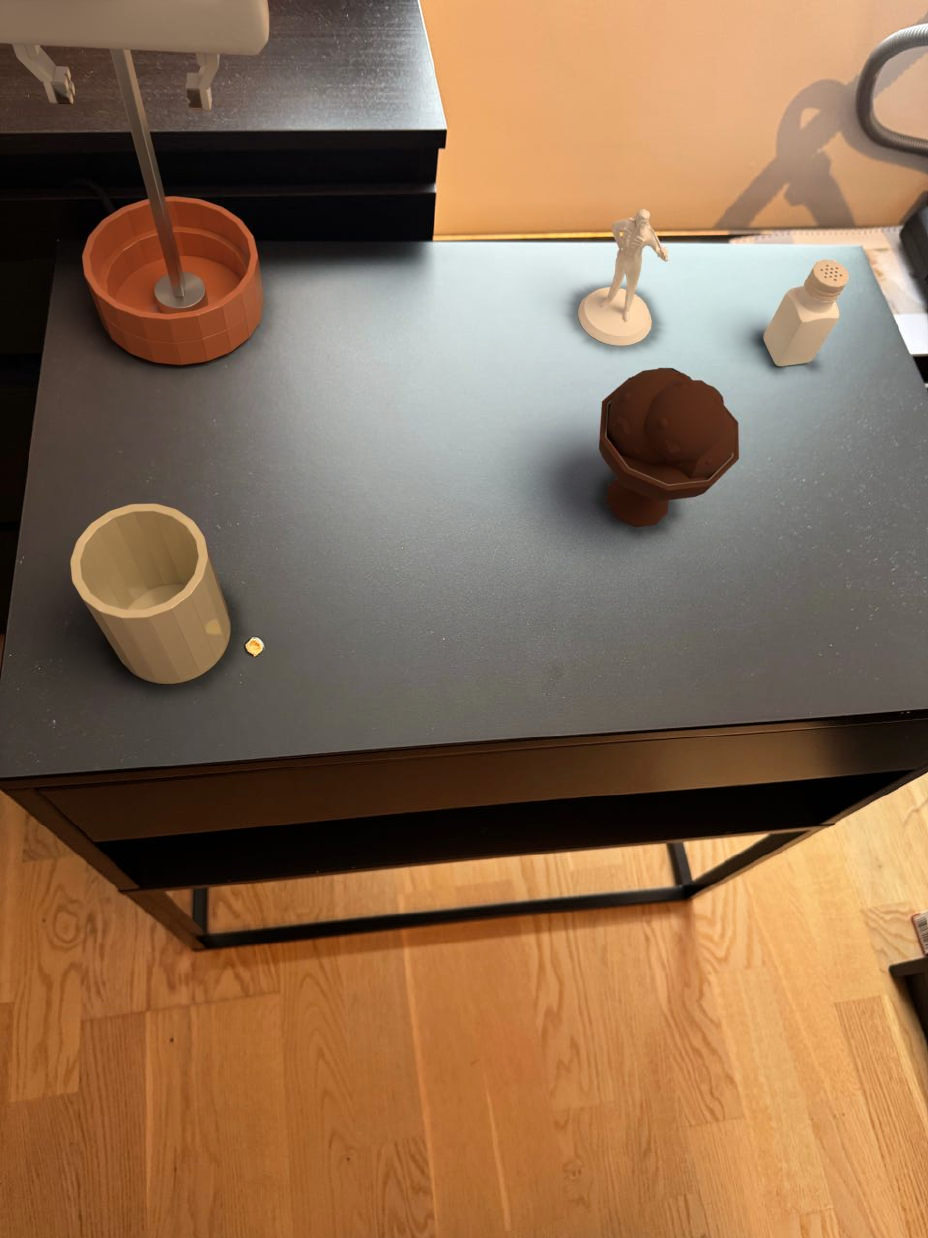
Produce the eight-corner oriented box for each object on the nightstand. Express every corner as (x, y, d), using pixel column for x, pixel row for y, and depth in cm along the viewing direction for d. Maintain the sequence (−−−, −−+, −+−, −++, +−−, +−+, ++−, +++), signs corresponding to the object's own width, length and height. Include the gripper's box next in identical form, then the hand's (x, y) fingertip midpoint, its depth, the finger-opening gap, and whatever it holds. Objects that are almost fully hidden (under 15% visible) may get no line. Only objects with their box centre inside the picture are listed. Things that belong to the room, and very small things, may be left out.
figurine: (562, 315, 85) (589, 207, 75) (608, 278, 88) (641, 168, 77) (621, 358, 84) (658, 254, 73) (666, 318, 86) (708, 212, 76)
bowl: (110, 380, 77) (91, 329, 72) (94, 261, 83) (75, 205, 78) (276, 356, 80) (269, 306, 75) (250, 243, 86) (242, 188, 81)
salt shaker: (759, 337, 86) (801, 258, 78) (796, 332, 87) (842, 253, 79) (774, 369, 85) (819, 292, 76) (813, 364, 86) (861, 287, 77)
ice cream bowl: (724, 499, 78) (797, 381, 64) (646, 579, 73) (707, 470, 60) (629, 426, 80) (680, 298, 67) (548, 499, 76) (585, 378, 63)
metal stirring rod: (155, 321, 80) (77, 54, 59) (159, 284, 82) (85, 13, 61) (206, 321, 80) (147, 57, 59) (209, 285, 82) (153, 16, 61)
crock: (121, 695, 65) (76, 630, 55) (109, 593, 69) (65, 514, 59) (239, 671, 67) (216, 603, 57) (221, 573, 70) (197, 492, 60)
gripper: (262, -144, 54) (282, 80, 67) (-100, -171, 52) (-9, 66, 64) (258, -86, 52) (280, 137, 64) (-124, -111, 49) (-25, 125, 62)
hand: (132, 101), depth 64 cm, fingers open, 8 cm apart
